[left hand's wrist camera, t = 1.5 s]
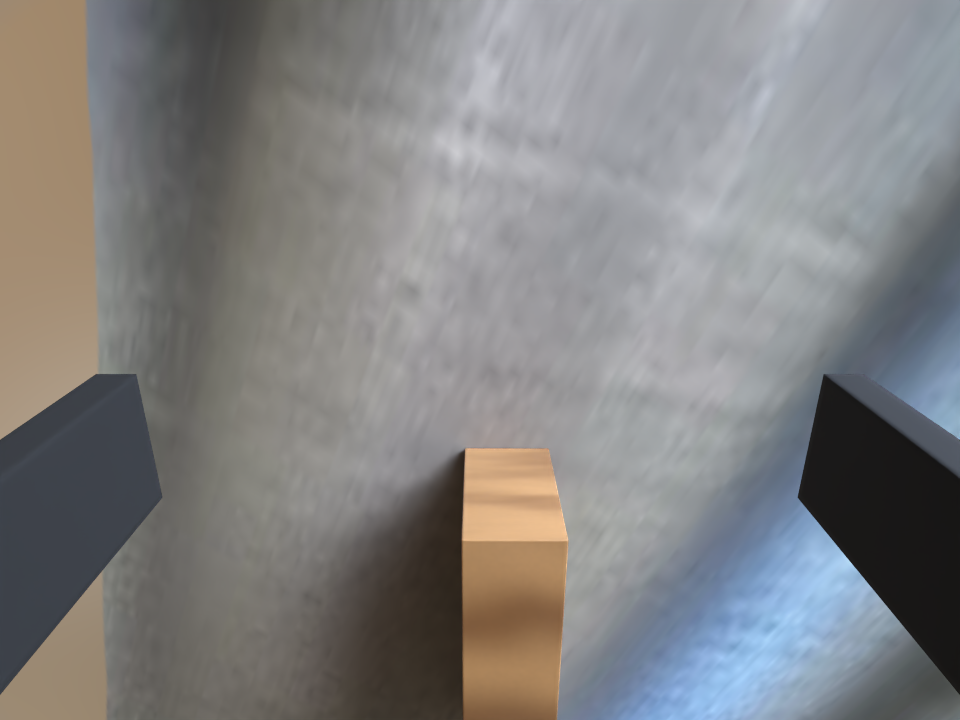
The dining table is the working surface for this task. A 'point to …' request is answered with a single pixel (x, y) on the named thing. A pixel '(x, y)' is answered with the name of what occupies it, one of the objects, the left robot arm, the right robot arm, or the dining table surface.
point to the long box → (511, 585)
